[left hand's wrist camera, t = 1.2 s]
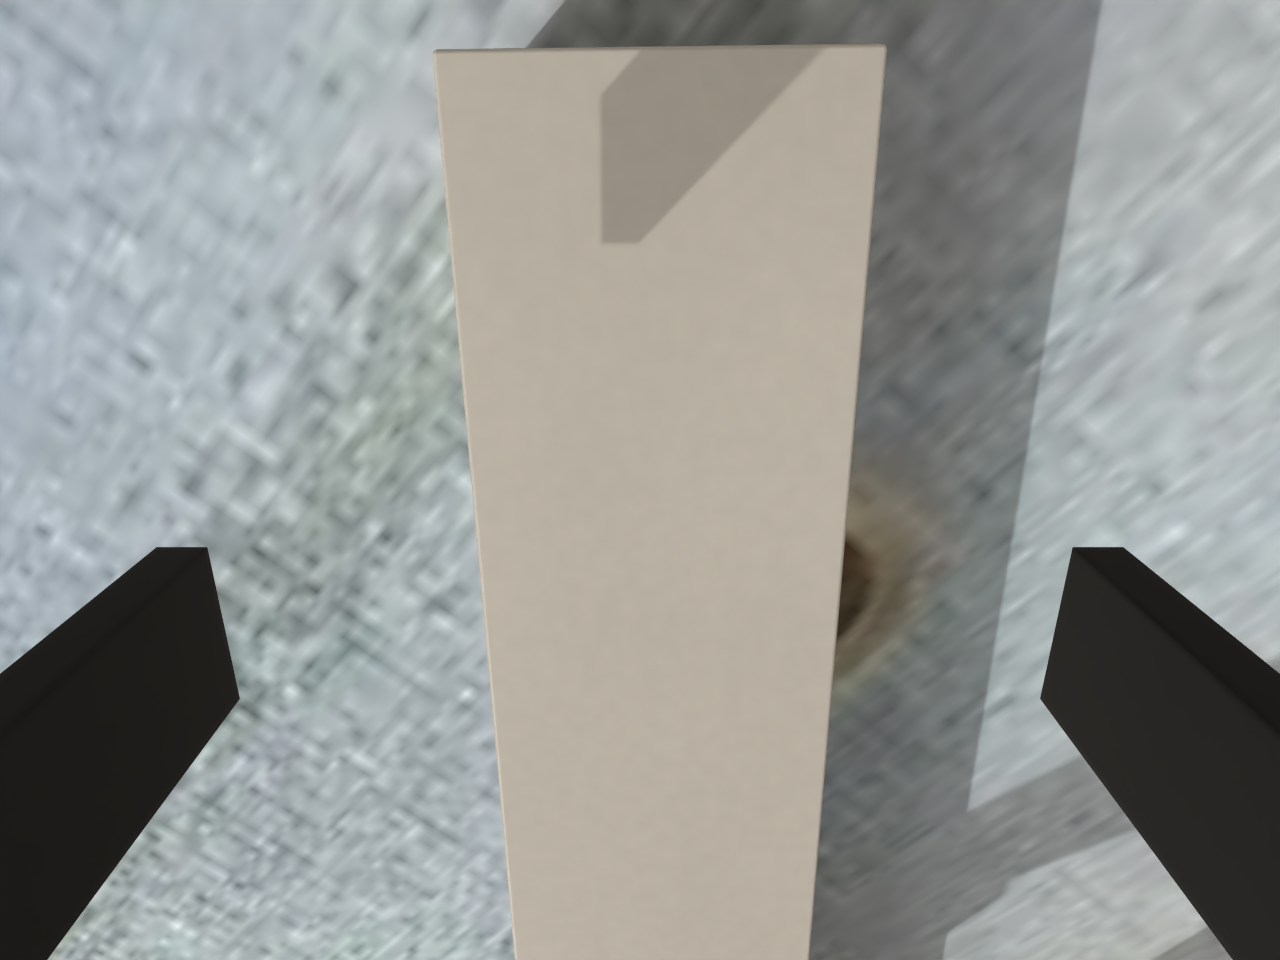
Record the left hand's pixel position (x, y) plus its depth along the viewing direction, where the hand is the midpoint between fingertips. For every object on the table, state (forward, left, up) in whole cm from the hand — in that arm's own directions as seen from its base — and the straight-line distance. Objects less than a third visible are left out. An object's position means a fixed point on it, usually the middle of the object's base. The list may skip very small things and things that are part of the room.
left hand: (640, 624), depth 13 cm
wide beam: (+19, +1, -13) cm, 23 cm away
